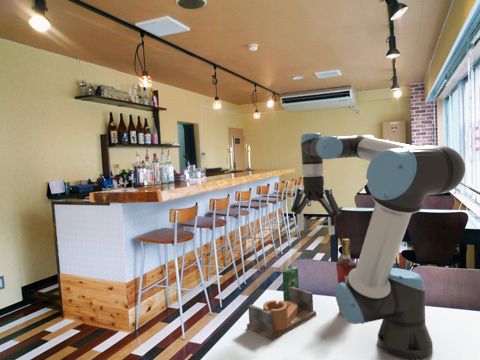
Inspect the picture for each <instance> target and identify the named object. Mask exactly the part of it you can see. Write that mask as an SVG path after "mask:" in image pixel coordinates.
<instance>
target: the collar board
mask: <svg viewBox="0 0 480 360" xmlns="http://www.w3.org/2000/svg"><path fill="white" fill-rule="evenodd" d="M290 301H292V302H295V303H296V304H297V307H298V314H297V315H296V317H295V318H294V319H293V320H292V322H291V323H290V324H289V326H288V327H287V328H285V329H283V330H278V331H274V330H272V313H271V312H268V311H266V310H263V308H261V307H258V306H256V305H253V304H249V305H248V307H247V308H248V323H247V324H246V328H247V329H248V330H249V331H251V332H253V333H256V335H257V334H258V335H260V336H262V337H264V338H266V339H268V340H270V341H274V340H275V339H277V338H279V337H281V336H282V335H284V334H286V333H288V332H290V331H291V330H293V329H294V328H297V327H298V326H300V325H302V324H304V323H305V322H307V321H310V320H311V319H312V318H315V317H317V311H315V310H314V296H313V292H312V291H308V290H304V289H302V288H299V289H298V288H295V287H290Z"/></svg>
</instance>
